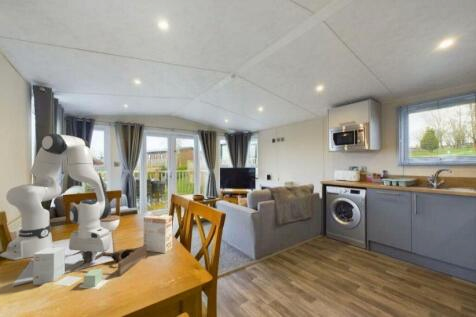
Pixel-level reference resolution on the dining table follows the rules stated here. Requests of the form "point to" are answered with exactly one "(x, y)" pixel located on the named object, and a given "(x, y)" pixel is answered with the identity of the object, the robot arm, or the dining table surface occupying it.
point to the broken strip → (71, 280)
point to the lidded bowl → (110, 222)
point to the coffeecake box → (158, 233)
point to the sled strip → (122, 265)
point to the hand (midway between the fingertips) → (88, 259)
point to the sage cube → (93, 278)
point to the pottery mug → (121, 255)
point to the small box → (48, 265)
